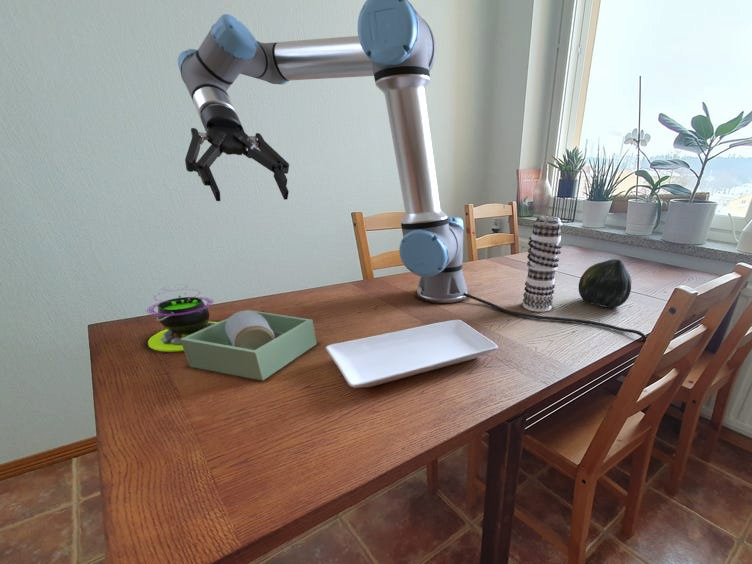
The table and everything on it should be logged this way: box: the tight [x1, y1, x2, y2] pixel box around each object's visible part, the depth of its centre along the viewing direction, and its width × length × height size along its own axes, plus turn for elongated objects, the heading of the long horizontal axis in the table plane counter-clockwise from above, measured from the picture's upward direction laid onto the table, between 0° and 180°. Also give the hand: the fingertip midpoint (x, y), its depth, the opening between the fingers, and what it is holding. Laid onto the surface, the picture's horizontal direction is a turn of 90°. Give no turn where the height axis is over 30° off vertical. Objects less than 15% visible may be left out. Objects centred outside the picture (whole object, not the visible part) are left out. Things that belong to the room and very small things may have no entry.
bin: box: [180, 309, 318, 381], centre depth 75 cm, size 16×16×6 cm
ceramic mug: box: [225, 310, 284, 350], centre depth 75 cm, size 11×8×8 cm
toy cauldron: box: [146, 283, 219, 353], centre depth 79 cm, size 15×15×11 cm
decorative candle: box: [522, 215, 564, 313], centre depth 104 cm, size 9×9×25 cm
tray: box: [325, 319, 499, 389], centre depth 77 cm, size 17×31×4 cm, turn 124°
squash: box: [578, 258, 632, 309], centre depth 112 cm, size 14×15×15 cm
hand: (254, 196), depth 82 cm, fingers open, 13 cm apart
